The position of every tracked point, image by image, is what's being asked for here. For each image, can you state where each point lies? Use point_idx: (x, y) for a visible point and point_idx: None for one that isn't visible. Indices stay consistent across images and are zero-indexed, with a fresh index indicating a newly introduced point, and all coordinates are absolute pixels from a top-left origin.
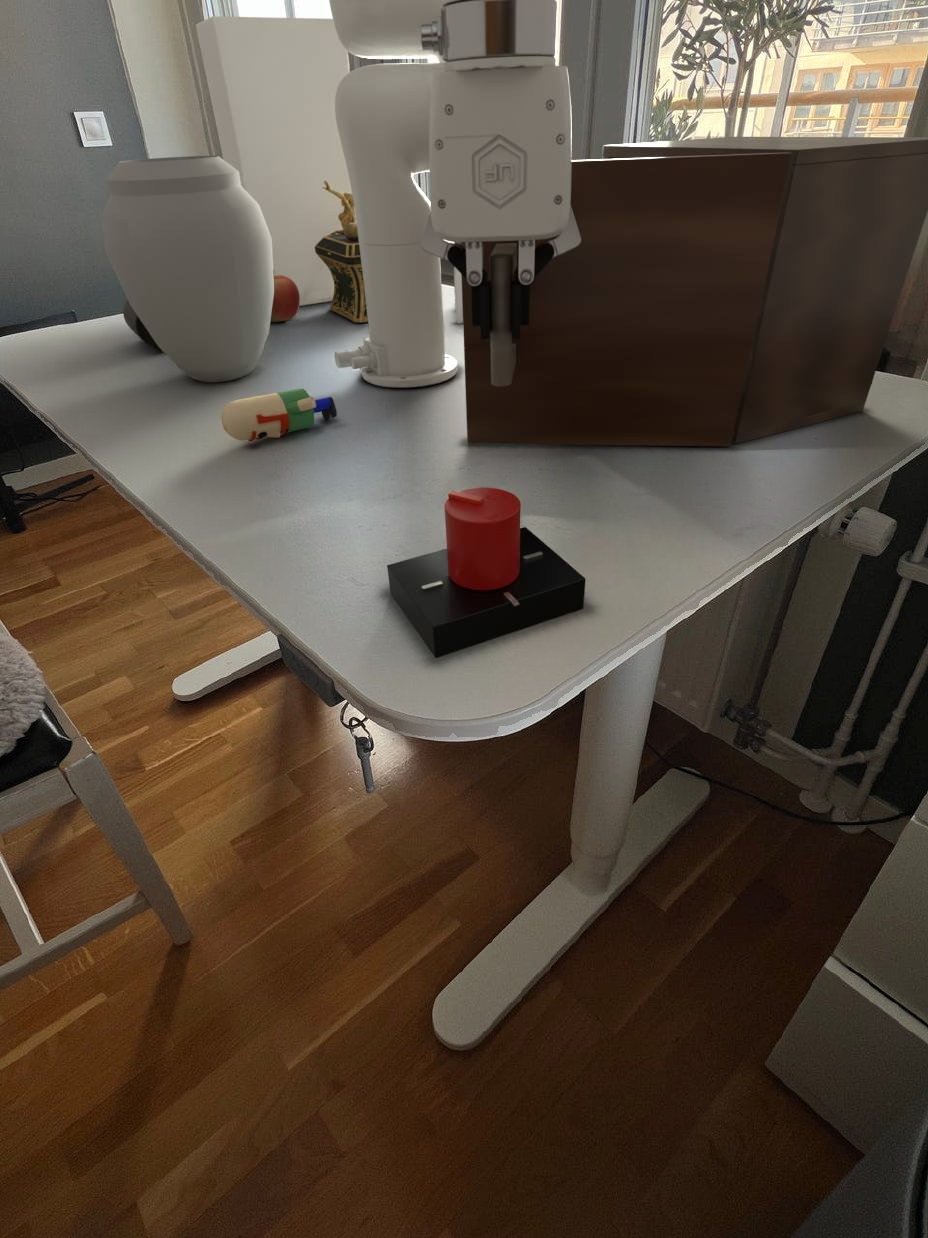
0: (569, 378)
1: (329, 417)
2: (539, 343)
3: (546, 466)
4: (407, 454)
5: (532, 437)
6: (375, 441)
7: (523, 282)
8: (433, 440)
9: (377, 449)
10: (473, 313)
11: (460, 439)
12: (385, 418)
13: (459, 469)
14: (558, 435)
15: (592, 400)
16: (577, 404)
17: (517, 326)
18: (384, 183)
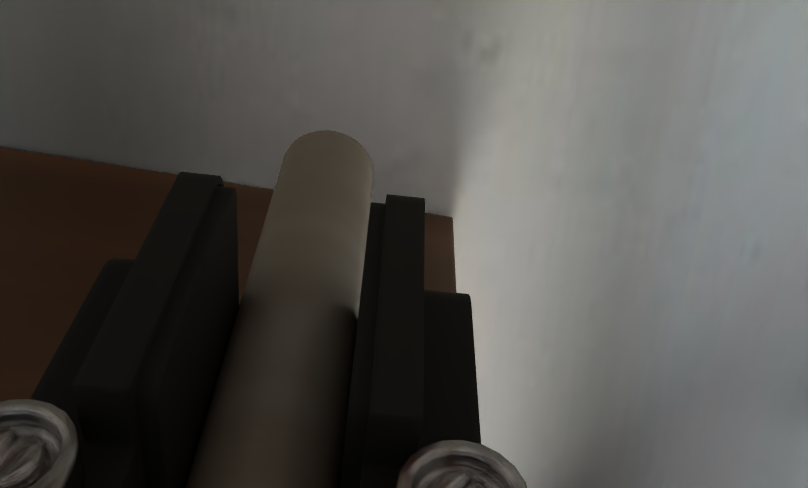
0: (71, 302)
1: None
2: None
3: (208, 31)
4: (646, 176)
5: (248, 196)
6: (724, 271)
7: (48, 417)
8: (551, 256)
9: (730, 220)
10: (463, 333)
11: (469, 252)
12: (664, 400)
13: (497, 47)
14: (164, 188)
15: (13, 240)
16: (72, 239)
17: (183, 206)
18: None
